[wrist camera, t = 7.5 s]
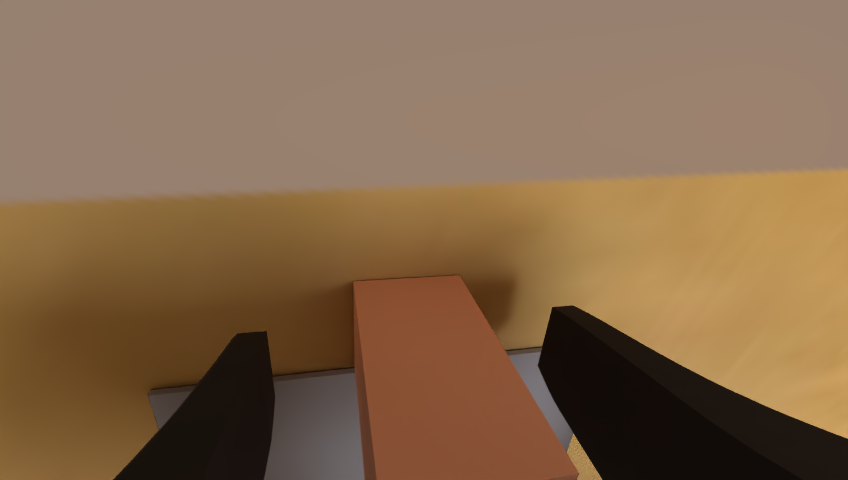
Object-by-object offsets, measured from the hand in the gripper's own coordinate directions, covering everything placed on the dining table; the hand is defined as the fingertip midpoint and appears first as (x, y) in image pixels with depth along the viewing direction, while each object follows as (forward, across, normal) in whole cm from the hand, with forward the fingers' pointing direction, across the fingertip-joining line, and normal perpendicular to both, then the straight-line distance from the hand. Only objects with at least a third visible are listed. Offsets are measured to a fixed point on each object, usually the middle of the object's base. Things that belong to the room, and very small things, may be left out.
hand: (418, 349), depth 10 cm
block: (+2, 0, +6) cm, 7 cm away
